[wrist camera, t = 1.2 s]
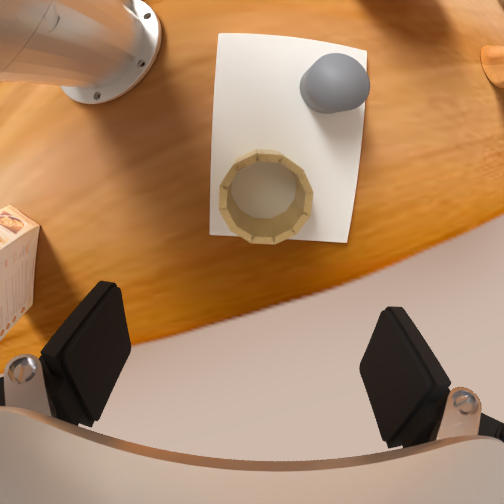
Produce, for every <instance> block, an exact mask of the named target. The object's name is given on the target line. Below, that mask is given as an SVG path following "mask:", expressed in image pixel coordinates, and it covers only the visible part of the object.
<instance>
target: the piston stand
mask: <svg viewBox="0 0 504 504" xmlns="http://www.w3.org/2000/svg"><path fill="white" fill-rule="evenodd" d="M366 68H367V51H364V50H360V49H356V48H352V47H348V46H343V45H338V44H333V43H328V42H322V41H316V40H310V39H303V38H295V37H287V36H276V35H263V34H242V33H219V36H218V47H217V59H216V73H215V87H214V104H213V123H212V146H211V178H210V235H222V236H238V235H236V234H235V233H233V232H231V231H230V229H229V227H228V226H227V224H226V222H225V220H224V219H223V217H222V215H221V213H220V211H219V186H220V184H221V182H222V181H223V179H224V177H225V176H226V174H227V173H228V171H229V170H230V168H231V166H232V165H233V163H234V162H235V160H236V159H237V158H239V157H241V156H243V155H245V154H247V153H249V152H251V151H253V150H255V149H263V150H277V151H278V152H280V153H281V154H283V155H284V156H286V157H287V158H289V159H290V160H292V161H293V162H295V163H296V164H297V165H298V166H300V167H301V168H302V169H303V170H304V172H305V174H306V176H307V179H308V181H309V183H310V185H311V187H312V190H313V201H312V209H311V216H310V217H309V219H308V220H307V221H306V223H305V224H304V225H303V227H302V228H301V229H300V231H299V232H298V233H297V235H295V236H292V237H290V238H288V239H294V240H310V241H326V242H341V243H347V239H348V234H349V229H350V223H351V217H352V211H353V205H354V198H355V192H356V185H357V177H358V170H359V161H360V153H361V143H362V133H363V122H364V109H365V100H366V99H367V97H368V95H369V91H370V82H369V77H368V75H367V72H366ZM295 191H296V180H295V178H294V176H293V173H292V171H291V170H290V169H288V168H287V167H285V166H284V165H282V164H281V163H276V162H262V161H258V162H255V163H253V164H251V165H249V166H247V167H245V168H243V169H241V170H239V171H238V173H237V174H236V176H235V177H234V179H233V180H232V188H231V195H232V197H233V198H234V200H235V202H236V204H237V206H238V208H239V209H240V210H242V211H243V212H245V213H247V214H248V215H250V216H251V217H253V218H267V219H270V218H273V217H275V216H277V215H279V214H281V213H283V212H285V211H286V210H287V208H288V207H289V206H290V204H291V203H292V201H293V200H294V199H295Z"/></svg>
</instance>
